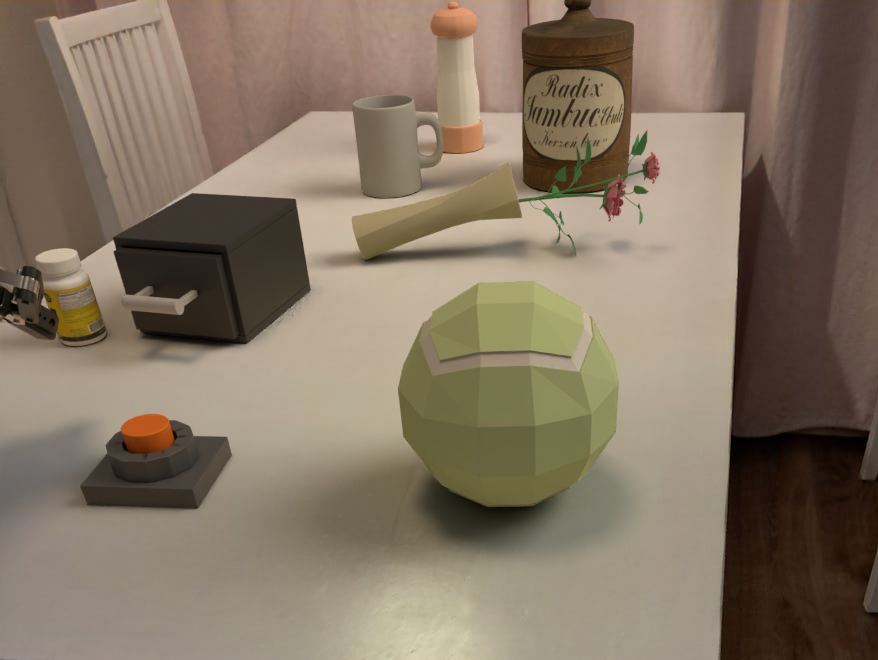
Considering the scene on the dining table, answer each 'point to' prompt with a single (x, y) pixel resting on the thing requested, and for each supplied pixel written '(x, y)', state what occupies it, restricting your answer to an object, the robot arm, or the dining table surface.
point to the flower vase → (485, 205)
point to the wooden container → (576, 98)
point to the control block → (158, 472)
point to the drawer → (177, 291)
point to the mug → (392, 145)
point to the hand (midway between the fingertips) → (50, 328)
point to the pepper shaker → (457, 79)
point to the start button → (147, 433)
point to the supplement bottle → (70, 297)
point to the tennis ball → (509, 394)
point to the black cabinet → (236, 251)
